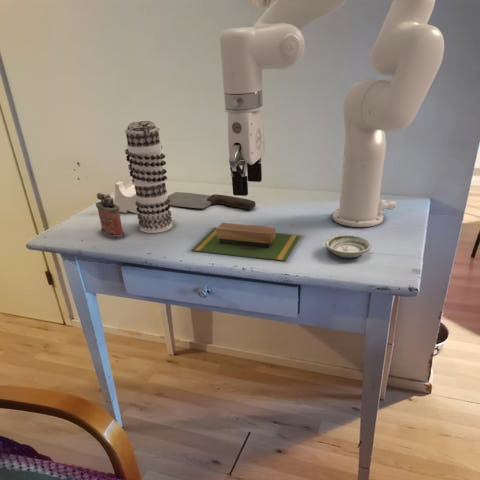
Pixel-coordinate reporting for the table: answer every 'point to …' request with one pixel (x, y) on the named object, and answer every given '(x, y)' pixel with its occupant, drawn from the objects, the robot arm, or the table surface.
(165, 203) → the decorative candle
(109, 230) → the lighter
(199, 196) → the cleaver
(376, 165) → the robot arm
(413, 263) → the table surface
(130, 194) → the bracket
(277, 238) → the cloth
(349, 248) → the saucer
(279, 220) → the table surface
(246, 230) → the chalkboard eraser
